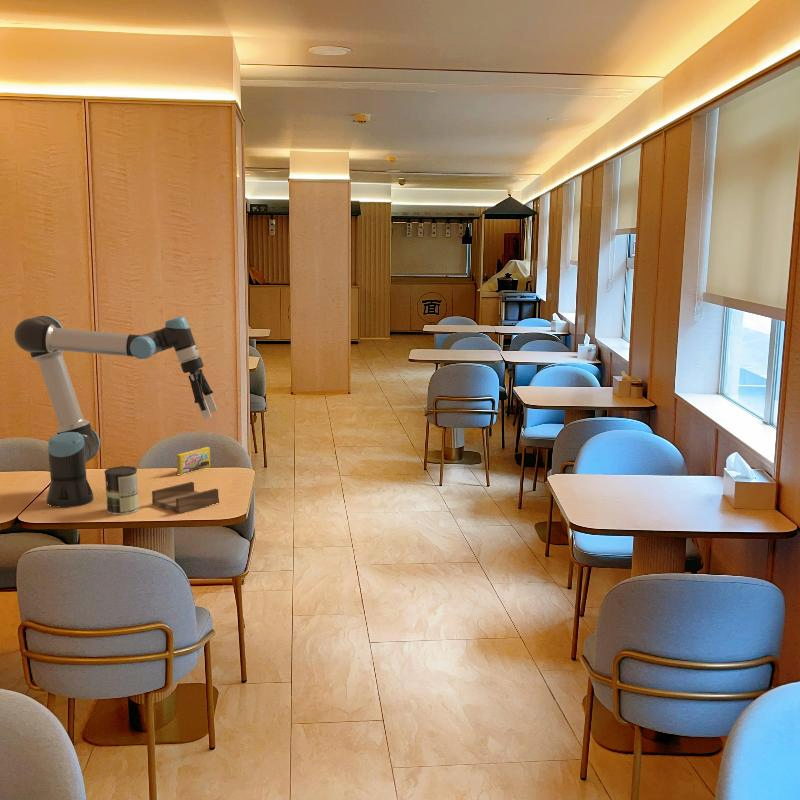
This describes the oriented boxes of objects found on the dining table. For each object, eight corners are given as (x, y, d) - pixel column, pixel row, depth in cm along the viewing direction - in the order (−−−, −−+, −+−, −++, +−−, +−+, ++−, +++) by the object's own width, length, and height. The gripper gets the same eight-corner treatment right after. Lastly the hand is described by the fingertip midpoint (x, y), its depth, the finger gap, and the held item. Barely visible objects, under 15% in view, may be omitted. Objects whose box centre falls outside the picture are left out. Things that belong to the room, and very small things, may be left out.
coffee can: (104, 515, 297) (101, 474, 295) (110, 507, 307) (107, 466, 305) (136, 514, 298) (133, 473, 296) (141, 505, 308) (139, 465, 306)
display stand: (152, 505, 309) (151, 491, 308) (191, 495, 321) (190, 481, 320) (179, 514, 298) (179, 499, 297) (219, 503, 310) (218, 489, 309)
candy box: (180, 476, 348) (179, 455, 347) (176, 475, 349) (175, 454, 348) (211, 467, 362) (210, 447, 360) (207, 466, 363) (206, 446, 361)
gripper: (193, 360, 308) (215, 418, 312) (205, 352, 333) (225, 405, 336) (173, 367, 308) (194, 425, 312) (186, 358, 333) (206, 412, 336)
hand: (210, 415), depth 324 cm, fingers open, 13 cm apart
